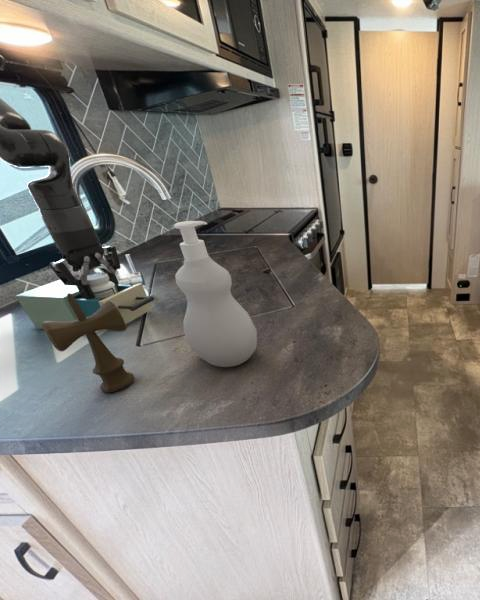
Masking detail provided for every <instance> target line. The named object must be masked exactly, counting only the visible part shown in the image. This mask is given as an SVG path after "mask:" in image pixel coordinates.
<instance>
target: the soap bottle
mask: <svg viewBox="0 0 480 600" xmlns="http://www.w3.org/2000/svg"><path fill="white" fill-rule="evenodd" d="M202 225H208V222H206V221H204V220H185V221H179V222H176V223H174V224H173V228H174V229H176V230H177V229H178V230H179V231H180V234H181V237H182V242H180V243H179V248H180V251H181V253H182V256H183V264H182V266H181V267H180V268H179V269H178V270H177V272H176V273H175V274H174V278H175V283H176V285H177V287H178V289H179V290H180V291H181V292H182V293H183V294H184V295H185V298H186V301H187V303H186V310H185V313H184V318H183V322H182V323H183V329H184V330H183V331H184V337H185V341H186V343H187V344H188V345H189V347H190V348H191V349H192V350H193V352H194V353H195V354H196V356H198V357H199V358H200V359H202V360H204V362H207V363H208V364H210V365H211V366H214V367H220V368H231V367H236V366H239V365H241V364H243V363H245V362H247V361H248V360H249V359H250V358H251V356H253V354H254V353H255V351H256V350H257V347H258V330H257V328H256V326H255V324H254V322H253V320H252V318H251V316H250V314H249V313H248V312H247V310H246V309H244V307H243V306H241V304H240V303H239V302H238V301H237V300H236V299H235V297H234V296H233V294H232V292H231V291H232V290H231V289H232V286H233V280H232V276H231V274H230V273H229V271H228V270H227V269H226V268H224V267H223V266H221V265H220V264H218V263H217V262H216V261H214V259H212V258H211V256H210V255H209V253H208V251H207V247H206V243H205V240H203V239H199V237H198V234H197V231H196V228H195V227H197V226H202Z"/></svg>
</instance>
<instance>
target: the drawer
mask: <svg viewBox="0 0 480 600" xmlns="http://www.w3.org/2000/svg"><path fill="white" fill-rule="evenodd" d="M118 286H119V287H117V290H118V293H116V294H114V295H112V296H110V297H108V298H105V299H103V300H101V301H100V300H99V299H88V298H85V297H82V296H81V294H79V295H77V296H74V298H75V300H76V302H77V303H78V305H79V306H80V308H81V310H82V311H83V313H84V315H85V316H86V317H88V316H91V315H93V314H94V313H96V312H97V311H98V310H99V309H100V308H101V307H102V306H103V305H104V304H105V303H106V302H107V301H110V302H112V303H113V304H114V305H115V306H116V307H117V309H118V310H119V312H120V314H121V315H122V317H123V319H124V322H125V325H127V324H129V323H131V322H132V321H134V320H136V319H138V318H139V317H141V316H143V315H144V314H146V313H148V312H150V311H151V310H153V306H152V304H151V302H152V301H155V298H154V296H153V295H147V292H146V290H145V288H144V286H143V284H142V283H138V282H137V283H136V284H134V285H132V284H118ZM67 300H68V301H69V299H67ZM69 303H70V301H69ZM70 305H71V303H70ZM71 307H72V305H71ZM72 308H73V307H72ZM73 310H74V309H73ZM74 312H75V311H74ZM75 314H76V313H75Z"/></svg>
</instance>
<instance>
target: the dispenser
mask: <svg viewBox="0 0 480 600" xmlns="http://www.w3.org/2000/svg"><path fill="white" fill-rule="evenodd" d="M68 293H70V294H72V296H73V297H74V296H77V295H79V294H80V292H79V290H78V288H77V286H73V285H64V283H63V282H62V281H61V280H60V279H58V280H55V281H51V282H48V283H46V284H44V285H40V286H38V287H35V288H33V289H30V290H27V291H24V292H22V293H19V294H18V293H17V294H16V295H15V298H16V299H17V301H18V302H19V304H20V305H21V307H22V309H23V310H24V312H25V313H26V315H27V316H28V318H29V319H30V321H31V323H32V324H33V326H34V327H35V329H37V330H44V329H43V326H42V323H43V322H44V321H75V320H78V317H77V315H76V314H75V312H74V310H73V308H72V307H71V305H70V303H69V301H68V300H67V299H68V296H67V294H68Z"/></svg>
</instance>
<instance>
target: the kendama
mask: <svg viewBox="0 0 480 600" xmlns="http://www.w3.org/2000/svg"><path fill="white" fill-rule="evenodd" d="M67 296H68V299H69V301H70V303H71V305H72V307H73V309H74V311H75V313H76V315H77V317H78V320H75V321H44V322H43V323H42V326H43V329H42V330H43V331H44V333H45V335H46V337H47V338H48V340H49V341H50V343H51V345H52V346H53V347H54V348H55V349H56V350H57V351H58V352H65V351H66V350H68V349H69V348H70V347H71V346H72V345H73V344H74V343H75V342H76V341H78V340H79V339H81V338H82V337H84V336H86V339H87V341H88V344H89V348H90V349H91V352H92V356H93V359H94V362H95V364H94V365H95V366H94V367H93V368H92V373H93V374H94V375H96V376H100V379H101V380H102V382H101V384H100V386H99V388H100V391H101V392H103V393H114V392H118V391H120V390H123V389H125V388H126V387H128V386H129V385H130V384H132V383H133V382H134V380H135V375H134V374H133V373H131V372H129V371H126V369H125V367H124V364H125V360H124V359H123V358H121V357H116V356H115V355H114V354H113V353H112V351H111V350H110V349H109V348H108V347H107V346H106V345H105V343H104V342H103V340H102V339H101V338H100V336H99V335H98V333H97V332H99V331H114V332H125V331H126V330H127V324H125V322H124V319H123V317H122V315H121V314H120V312H119V310H118V309H117V307H116V306H115V305H114V304H113V303H112V302H110V301H107V302H106V303H105V304H104V305H103V306H102V307H101V308H100V309H99V310H98V311H97V312H96V313H94V314H93V315H91V316H88V317H86V316H85V315H84V313H83V311H82V310H81V308H80V306H79V305H78V303H77V302H76V300H75V298H74V297H73V296H72V294H70V293H68V294H67Z"/></svg>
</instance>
